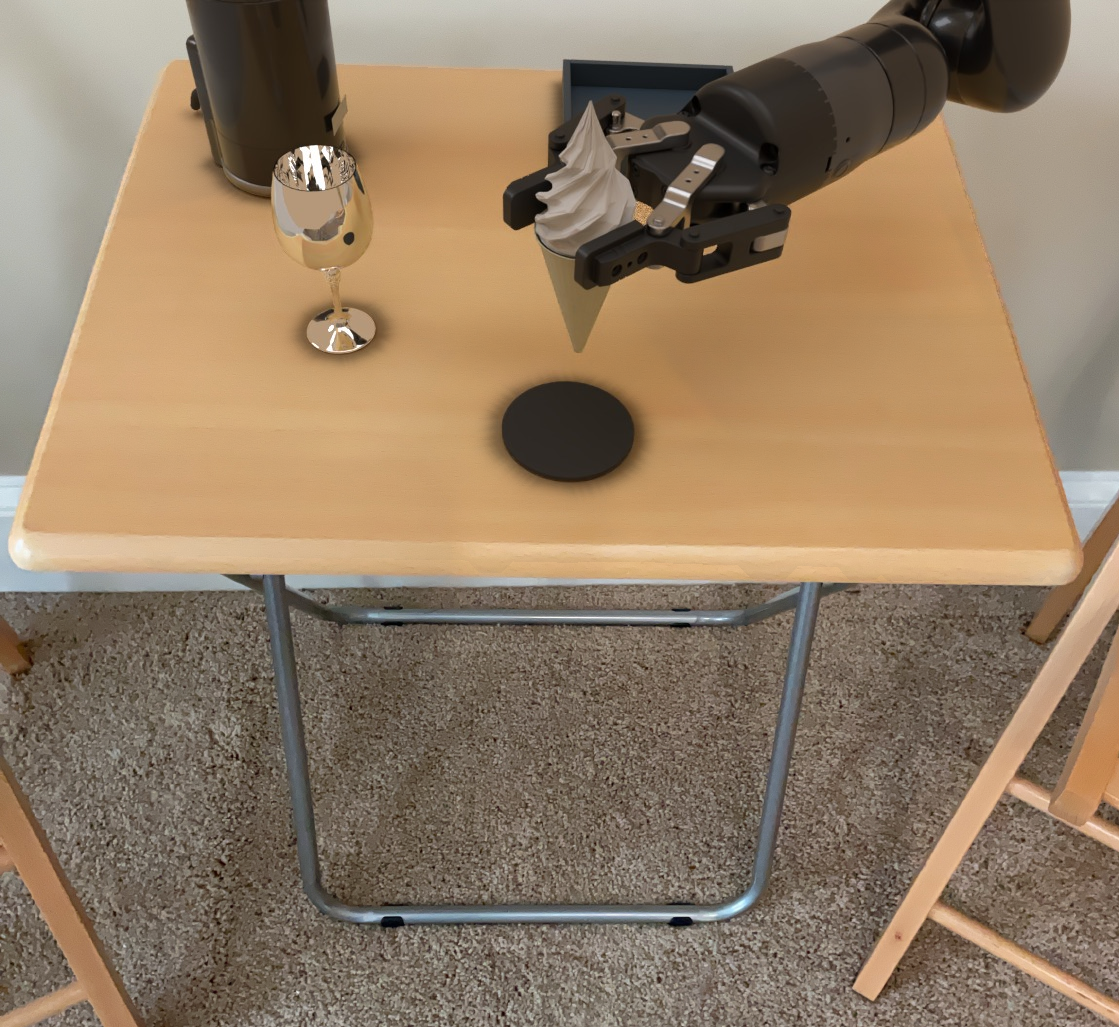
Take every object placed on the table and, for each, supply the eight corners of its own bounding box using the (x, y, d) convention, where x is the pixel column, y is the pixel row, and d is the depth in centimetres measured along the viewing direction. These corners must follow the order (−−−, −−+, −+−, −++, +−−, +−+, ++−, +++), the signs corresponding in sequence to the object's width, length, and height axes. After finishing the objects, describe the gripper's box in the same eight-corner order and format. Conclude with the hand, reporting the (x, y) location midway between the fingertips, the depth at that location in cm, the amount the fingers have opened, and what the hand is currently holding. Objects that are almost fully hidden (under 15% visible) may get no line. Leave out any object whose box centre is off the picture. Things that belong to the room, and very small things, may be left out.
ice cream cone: (540, 387, 56) (543, 133, 44) (526, 325, 59) (525, 73, 47) (632, 377, 56) (658, 125, 45) (613, 316, 60) (633, 66, 48)
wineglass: (313, 371, 65) (281, 208, 56) (284, 316, 68) (249, 152, 59) (399, 345, 67) (382, 182, 58) (367, 292, 70) (345, 130, 61)
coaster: (476, 447, 62) (476, 442, 61) (544, 368, 66) (544, 364, 66) (594, 501, 59) (594, 497, 59) (656, 416, 64) (656, 412, 64)
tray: (562, 175, 80) (564, 147, 78) (561, 86, 88) (563, 58, 86) (745, 181, 80) (751, 154, 78) (727, 92, 88) (732, 65, 87)
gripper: (707, 7, 57) (453, 102, 50) (909, 123, 50) (647, 252, 44) (689, 131, 63) (460, 231, 56) (868, 250, 56) (632, 380, 49)
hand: (543, 239), depth 50 cm, fingers closed on ice cream cone, 5 cm apart
